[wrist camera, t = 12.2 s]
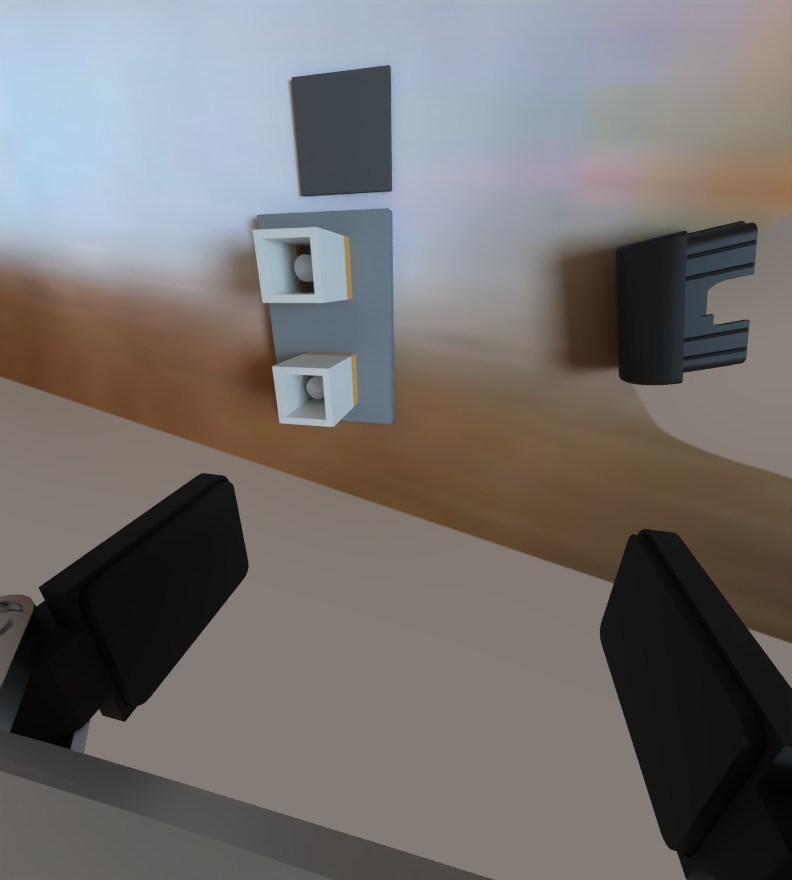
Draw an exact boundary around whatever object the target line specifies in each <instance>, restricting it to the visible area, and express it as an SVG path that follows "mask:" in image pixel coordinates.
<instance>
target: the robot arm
mask: <svg viewBox="0 0 792 880" xmlns="http://www.w3.org/2000/svg"><path fill="white" fill-rule="evenodd" d="M247 571H248V559H247V553H246V548H245V543H244V538H243V533H242V527H241V522H240V517H239V511H238V506H237V501H236V496H235V491H234V487H233V484H232V483H230V482H229V480H228V479H227V477H225V476H222V475H214V474H206V473H205V474H204V473H203V474H200V475H198V476H196V477H195V478H193V479H192V480H191V481H189V482H188V483H187V484H185V485H184V486H182V487H181V488H179V489H178V490H176V491H175V492H174V493H172V494H171V495H169V496H168V497H166V498H165V499H164V500H162V501H161V502H159V503H158V504H157V505H155V506H154V507H152V508H151V509H149V510H148V511H147V512H145V513H144V514H142V515H141V516H139V517H138V518H137V519H135V520H134V521H132V522H131V523H130V524H128V525H127V526H125V527H124V528H122V529H121V530H120V531H118V532H117V533H115V534H114V535H112V536H111V537H110V538H108V539H107V540H106V541H104V542H102V543H101V544H100V545H98V546H97V547H95V548H94V549H92V550H91V551H90V552H88V553H87V554H85V555H84V556H83V557H81V558H80V559H78V560H77V561H75V562H74V563H73V564H71V565H70V566H68V567H67V568H66V569H64V570H63V571H61V572H60V573H58V574H57V575H56V576H54V577H53V578H51V579H50V580H48V581H47V582H46V583H44V584H43V585H41V586H40V587H39V589H40V591H41V593H42V595H43V597H44V599H45V601H43V602H42V603H41V604H39V605H38V606H37V607H36V606H35V604H34V602H33V601H32V599H31V598H30V597H28V596H25V595H6V596H1V597H0V880H493V879H490V878H487V877H484V876H481V875H477V874H474V873H471V872H468V871H465V870H461V869H458V868H455V867H452V866H449V865H445V864H442V863H439V862H436V861H433V860H429V859H426V858H423V857H420V856H417V855H414V854H410V853H407V852H404V851H401V850H397V849H394V848H391V847H388V846H385V845H381V844H378V843H375V842H372V841H369V840H365V839H362V838H359V837H356V836H352V835H349V834H346V833H343V832H339V831H336V830H333V829H330V828H326V827H323V826H320V825H317V824H314V823H310V822H307V821H304V820H301V819H297V818H294V817H291V816H287V815H284V814H281V813H278V812H275V811H271V810H268V809H265V808H261V807H258V806H255V805H252V804H248V803H245V802H242V801H239V800H235V799H232V798H229V797H226V796H222V795H219V794H216V793H213V792H209V791H206V790H203V789H200V788H196V787H193V786H190V785H186V784H183V783H180V782H177V781H173V780H170V779H167V778H163V777H160V776H156V775H153V774H149V773H147V772H143V771H140V770H136V769H133V768H130V767H126V766H123V765H120V764H116V763H113V762H110V761H107V760H103V759H100V758H96V757H93V756H90V755H87V754H84V750H85V744H86V739H87V734H88V729H89V724H90V718H91V717H92V716H93V715H94V714H95V713H96V711H98V709H100V711H101V713H102V715H103V716H106V717H110V718H113V719H117V720H121V721H126V720H127V718H128V717H129V716H130V715H131V713H132V712H133V711H134V710H135V708H136V707H137V706H139V705H141V704H143V703H145V702H146V701H147V700H148V699H149V698H150V697H151V696H152V694H153V693H154V692H155V690H156V689H157V688H158V687H159V685H160V684H161V683H162V681H163V680H164V679H165V678H166V677H167V675H168V674H169V673H170V672H171V670H172V669H173V668H174V666H175V665H176V664H177V663H178V661H179V660H180V659H181V658H182V656H183V655H184V654H185V652H186V651H187V650H188V649H189V647H190V646H191V645H192V643H193V642H194V641H195V640H196V639H197V637H198V636H199V635H200V634H201V632H202V631H203V630H204V628H205V627H206V626H207V625H208V623H209V622H210V621H211V620H212V618H213V617H214V616H215V614H216V613H217V612H218V611H219V609H220V608H221V607H222V606H223V604H224V603H225V602H226V601H227V599H228V598H229V597H230V595H231V594H232V593H233V592H234V590H235V589H236V588H237V587H238V585H239V584H240V583H241V582H242V580H243V579H244V578H245V576H246V574H247ZM600 639H601V643H602V647H603V650H604V653H605V656H606V659H607V663H608V666H609V669H610V672H611V675H612V679H613V682H614V685H615V688H616V692H617V694H618V698H619V701H620V704H621V707H622V710H623V714H624V717H625V720H626V723H627V727H628V730H629V732H630V736H631V739H632V742H633V746H634V749H635V752H636V755H637V758H638V761H639V765H640V768H641V771H642V774H643V777H644V781H645V784H646V787H647V790H648V793H649V796H650V800H651V803H652V806H653V809H654V812H655V816H656V819H657V822H658V825H659V828H660V831H661V834H662V837H663V839H664V841H665V843H666V845H667V846H668V847H669V848H670V849H672V850H674V851H677V853H678V856H679V859H680V862H681V865H682V868H683V871H684V874H685V877H686V879H687V880H792V688H791V687H790V686H789V684H788V683H787V682H786V680H785V679H784V678H783V676H782V675H781V674H780V672H779V671H778V669H777V668H776V667H775V665H774V664H773V663H772V661H771V660H770V659H769V657H768V656H767V655H766V653H765V652H764V650H763V649H762V648H761V646H760V645H759V644H758V642H757V641H756V640H755V638H754V637H753V636H752V634H751V633H750V632H749V630H748V629H747V627H746V626H745V625H744V623H743V622H742V621H741V619H740V618H739V617H738V615H737V614H736V613H735V611H734V610H733V609H732V607H731V606H730V604H729V603H728V602H727V600H726V599H725V598H724V596H723V595H722V594H721V592H720V591H719V590H718V588H717V587H716V585H715V584H714V583H713V581H712V580H711V579H710V577H709V576H708V575H707V573H706V572H705V571H704V569H703V568H702V567H701V565H700V564H699V562H698V561H697V560H696V558H695V557H694V556H693V554H692V553H691V552H690V550H689V549H688V548H687V546H686V545H685V544H684V542H683V541H682V539H681V538H680V537H679V536H678V535H677V534H676V533H673V532H665V531H657V530H649V529H643V530H641V531H640V532H639V534H638V535H631V536H630V537H629V539H628V542H627V545H626V548H625V551H624V554H623V557H622V560H621V563H620V566H619V570H618V573H617V576H616V579H615V582H614V585H613V589H612V591H611V594H610V597H609V600H608V604H607V607H606V610H605V613H604V616H603V619H602V622H601V626H600Z"/></svg>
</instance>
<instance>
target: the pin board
mask: <svg viewBox="0 0 792 880" xmlns="http://www.w3.org/2000/svg"><path fill="white" fill-rule="evenodd" d="M257 218H258V226H259V229H282V228H307V227H318V228H321V229H325V230H328V231H331V232H334V233H337V234H340V235H344V236H347V237H349V243H350V262H351V282H352V299H348V300H341V301H334V302H327V303H269V309H270V317H271V324H272V332H273V339H274V347H275V355H276V362H277V364H279V363H282V362H284V361H287V360H289V359H292V358H294V357H296V356H299V355H301V354H304V353H306V352H327V353H356V370H357V390H358V403H357V404H356V405H355V406H354V407H353V408H352V409H351V410H350V411H349V412H348V413H347V414H346V415H345V416H344V417H343V418H342V419H341V420H342V421H357V422H372V423H387V424H391V423H392V422H393V420H394V337H393V245H392V211H391V210H389V209H370V210H349V211H329V212H308V213H287V214H267V215H257ZM303 253H304V254H303V255H300V256H299V257H298V258H297V259H296V261H295V264H294V270H295V273H296V275H297V277H298V278H299V279H301V280H302V281H306V285H307V292H314V280H313V269H312V257H311V246H303ZM307 391H308V393H309V394H310V396H312V397H313V398H316V399H321V398H323V397H324V388H323V376H316V375H315V377H313V378H311V379H310V380H309V381H308V383H307Z"/></svg>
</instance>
